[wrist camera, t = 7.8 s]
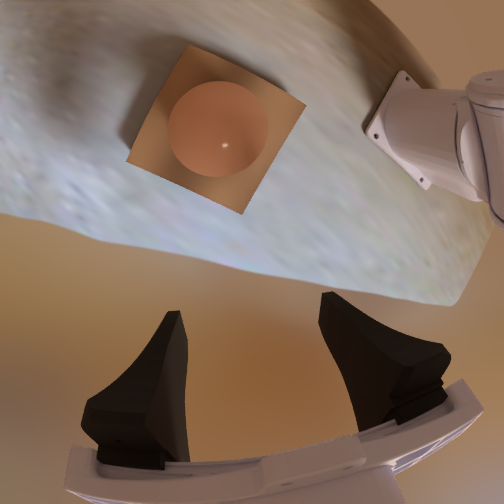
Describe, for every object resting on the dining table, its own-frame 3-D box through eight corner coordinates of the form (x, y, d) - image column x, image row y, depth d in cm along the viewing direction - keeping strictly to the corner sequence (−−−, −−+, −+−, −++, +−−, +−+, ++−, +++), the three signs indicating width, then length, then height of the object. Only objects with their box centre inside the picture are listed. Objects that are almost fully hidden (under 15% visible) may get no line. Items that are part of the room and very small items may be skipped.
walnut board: (295, 107, 18) (306, 105, 16) (238, 204, 21) (242, 214, 19) (191, 53, 15) (188, 44, 13) (135, 156, 18) (126, 161, 16)
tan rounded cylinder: (262, 112, 16) (284, 107, 11) (232, 173, 18) (242, 191, 13) (198, 85, 15) (194, 67, 10) (168, 147, 16) (152, 156, 11)
